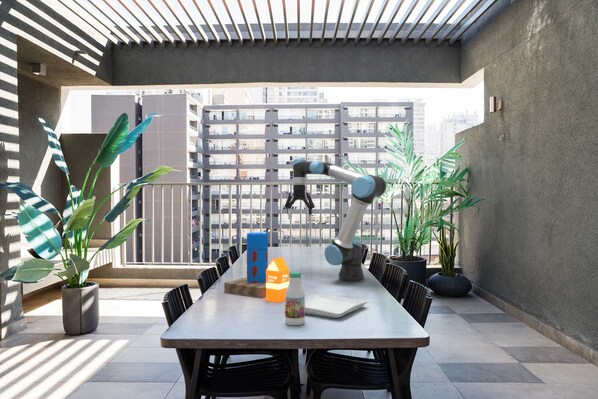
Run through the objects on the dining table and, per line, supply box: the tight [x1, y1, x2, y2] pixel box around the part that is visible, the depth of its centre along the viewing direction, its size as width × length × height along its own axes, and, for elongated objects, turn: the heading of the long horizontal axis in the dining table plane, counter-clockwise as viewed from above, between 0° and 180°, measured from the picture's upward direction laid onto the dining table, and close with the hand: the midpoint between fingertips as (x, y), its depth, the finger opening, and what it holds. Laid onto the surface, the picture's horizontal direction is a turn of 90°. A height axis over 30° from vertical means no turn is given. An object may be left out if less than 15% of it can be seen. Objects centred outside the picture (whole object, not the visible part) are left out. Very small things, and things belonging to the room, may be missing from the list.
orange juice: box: [265, 256, 290, 303], centre depth 226 cm, size 8×9×20 cm
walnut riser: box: [223, 276, 266, 299], centre depth 245 cm, size 24×24×5 cm
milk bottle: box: [284, 271, 306, 326], centre depth 186 cm, size 8×8×20 cm
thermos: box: [246, 232, 269, 283], centre depth 245 cm, size 11×11×25 cm
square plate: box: [305, 293, 368, 319], centre depth 207 cm, size 27×27×4 cm
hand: (299, 219), depth 284 cm, fingers open, 13 cm apart
